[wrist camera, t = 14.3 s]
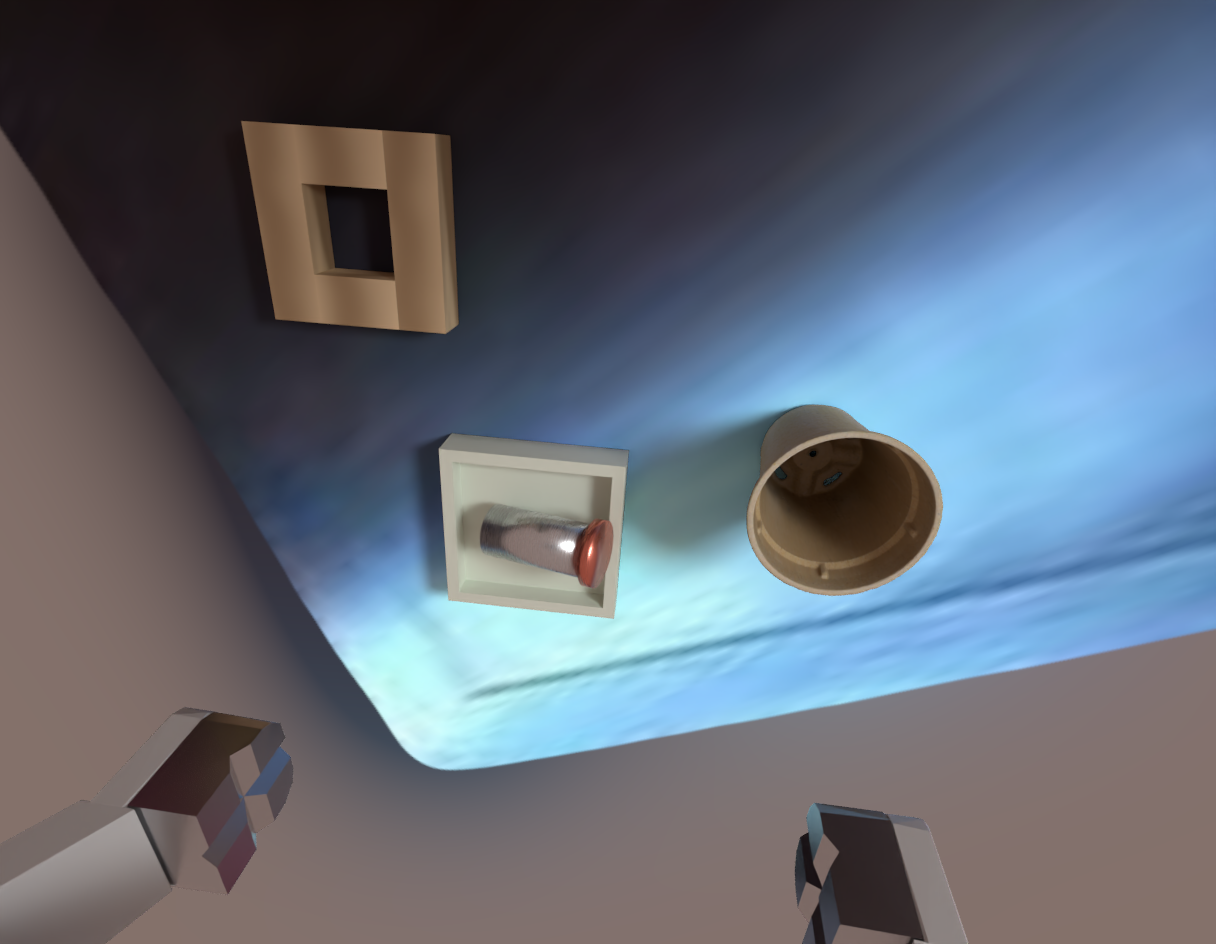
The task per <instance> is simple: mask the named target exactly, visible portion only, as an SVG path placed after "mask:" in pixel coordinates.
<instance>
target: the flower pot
mask: <svg viewBox="0 0 1216 944" xmlns="http://www.w3.org/2000/svg"><path fill="white" fill-rule="evenodd" d="M811 451H816V455H815V456H814V457H811V456H810V455H809V454H810V452H811ZM760 456H761V463H760V478H759V479H758V481H757V483H756V484H755V486H754V489H753V491H752V493H751V496H750V499H749V503H748V508H747V532H748V537H749V541H750V544H751V546H752V549H753V551H754V552H755V555H756V557H757V558H758V559H759V561H760V562H761V563H762V565H763V566H764V567H765V568H766V569H767V570H768V571H769V572H770V573H771V574H773V575H774V576H775V577H777V578H778V579H779V580H781V581H782V582H784V583H786V584H788V585H790V586H793V587H795V588H797V589H799V590H802V591H805V592H809V593H813V594H821V595H829V596H831V595H832V596H836V595H838V596H839V595H848V594H857V593H861V592H864V591H868V590H870V589H875V588H878V587H880V586H882V585H885V584H886V583H889V582H890V581H892V580H894V579H895V578H897V577H899V576H901V575H902V574H903V573H905V572H906V571H907V570H909V569H910V568H911V567H913V566H914V565H915V564H916V563H917V562H918V561H919V559H920V558H921V557H922V556H923V555H924V554H925V553H926V552H927V550H928V548H929V547H930V545H931V544H932V542H933V540H934V538H935V537H936V535H937V532H938V529H939V526H940V522H941V518H942V510H943V502H942V494H941V489H940V485H939V483H938V481H937V479H936V477H935V475H934V473H933V471H932V469H931V468H930V467H929V465H928V464H927V463H926V462H925V460H924V459H923V458H922V457H921V456H920V455H919V454H917V453H916V452H915V451H914V450H913V449H911V448H910V447H908V446H907V445H905V444H904V443H902V442H900V441H898V440H896V439H894V438H892V437H889V436H887V435H884V434H880V433H876V432H872V431H869V430H868V429H866V428H865V427H864V426H862V425H861V424H860V423H858V422H857V421H856V420H855V419H854V418H853V417H852V416H850V415H849V414H848V413H846V412H845V411H843V410H841V409H839V408H836V407H832V406H826V405H805V406H801V407H798V408H796V409H793V410H791V411H789V412H787V413H786V414H784V415H783V416H781V417H780V418H779V419H778V420H776V421H775V422H774V423H773V425H772V426H771V427H770V428H769V430H768V431H767V433H766V435H765V438H764V440H763V443H762V447H761V454H760ZM779 466H780V467H781V469H782V470H783V472H784V473H785V474H786V475H787V477H786V478H785V479H780V478H778V476H777V475H776V473H775V470H776V469H777V468H778V467H779ZM838 472H841V473H842V474H841V475H840V476H839V477H838V478H837V479H836V480H835V481H833V482H832V483H830V484H828V485H824V480H826V479H828V478H830V477H832V476H833V475H835V474H836V473H838Z"/></svg>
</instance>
